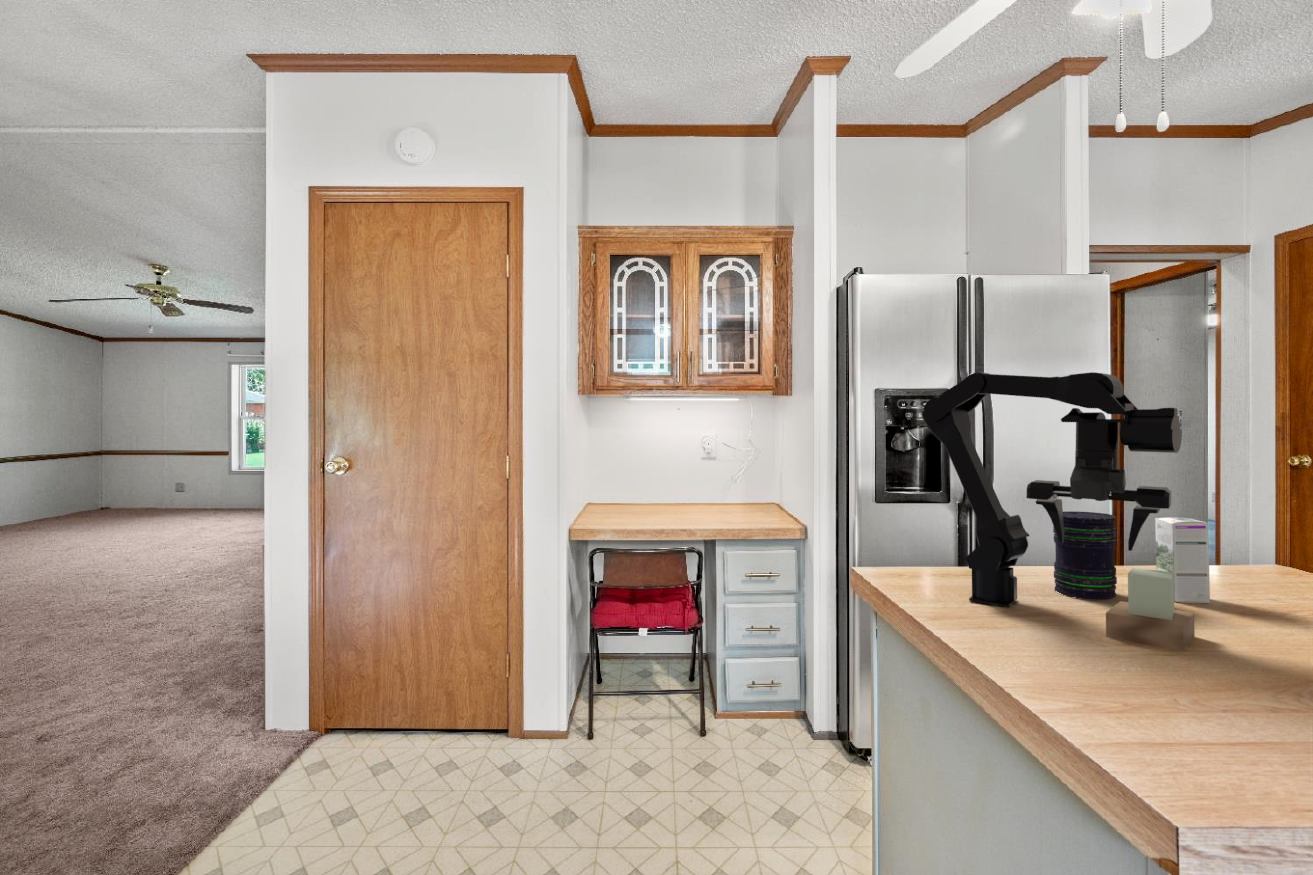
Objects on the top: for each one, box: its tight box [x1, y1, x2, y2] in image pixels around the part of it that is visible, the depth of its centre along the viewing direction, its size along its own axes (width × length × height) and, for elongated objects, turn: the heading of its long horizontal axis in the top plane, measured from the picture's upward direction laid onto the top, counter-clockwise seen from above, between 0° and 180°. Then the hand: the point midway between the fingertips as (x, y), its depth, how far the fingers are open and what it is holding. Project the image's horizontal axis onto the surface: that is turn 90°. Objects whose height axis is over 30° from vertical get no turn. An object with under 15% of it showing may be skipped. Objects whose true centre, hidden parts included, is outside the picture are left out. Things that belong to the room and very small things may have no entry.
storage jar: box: [1052, 510, 1118, 601], centre depth 118 cm, size 10×10×15 cm
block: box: [1105, 600, 1196, 653], centre depth 93 cm, size 9×9×4 cm
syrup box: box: [1154, 516, 1211, 604], centre depth 113 cm, size 6×6×14 cm
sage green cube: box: [1127, 567, 1175, 620], centre depth 93 cm, size 5×5×6 cm
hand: (1094, 546), depth 101 cm, fingers open, 9 cm apart
